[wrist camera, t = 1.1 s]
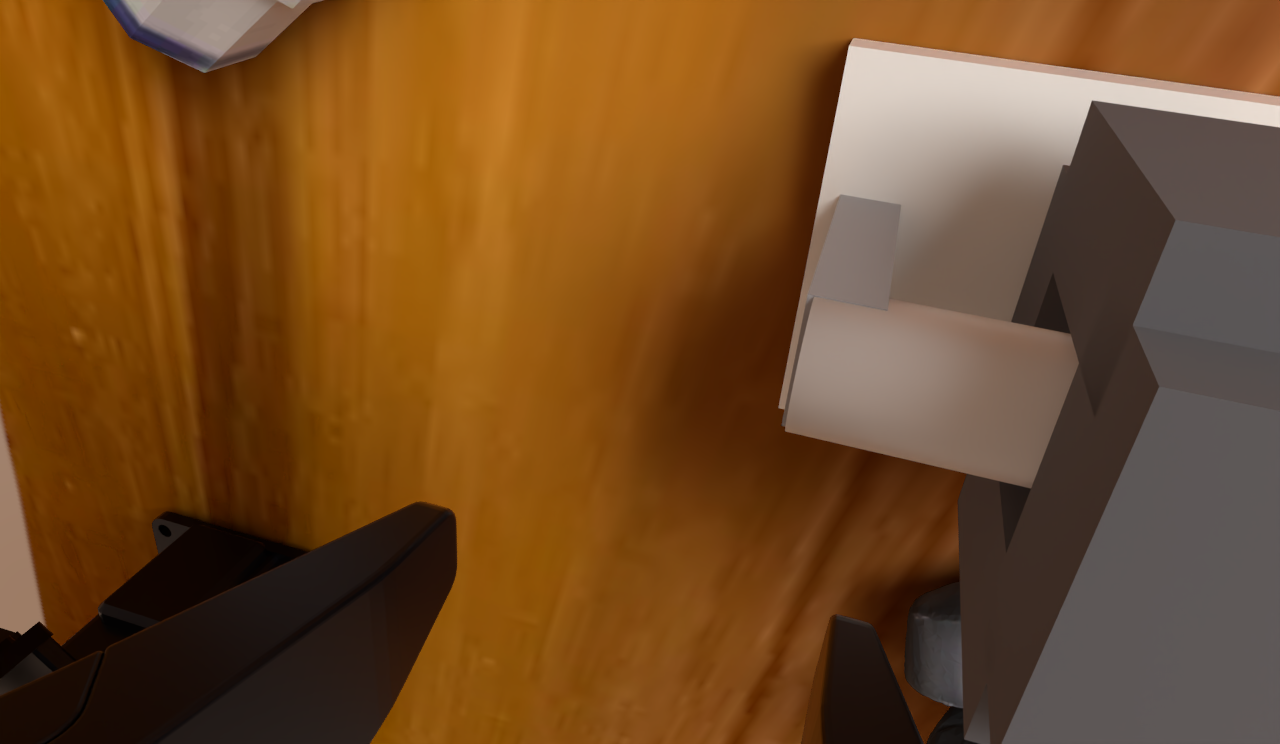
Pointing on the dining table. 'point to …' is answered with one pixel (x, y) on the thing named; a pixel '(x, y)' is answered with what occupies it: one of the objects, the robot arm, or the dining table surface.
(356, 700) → the robot arm
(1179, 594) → the stepped block
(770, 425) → the dining table surface
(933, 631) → the can opener
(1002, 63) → the pipe stand
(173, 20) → the light grey long piece
